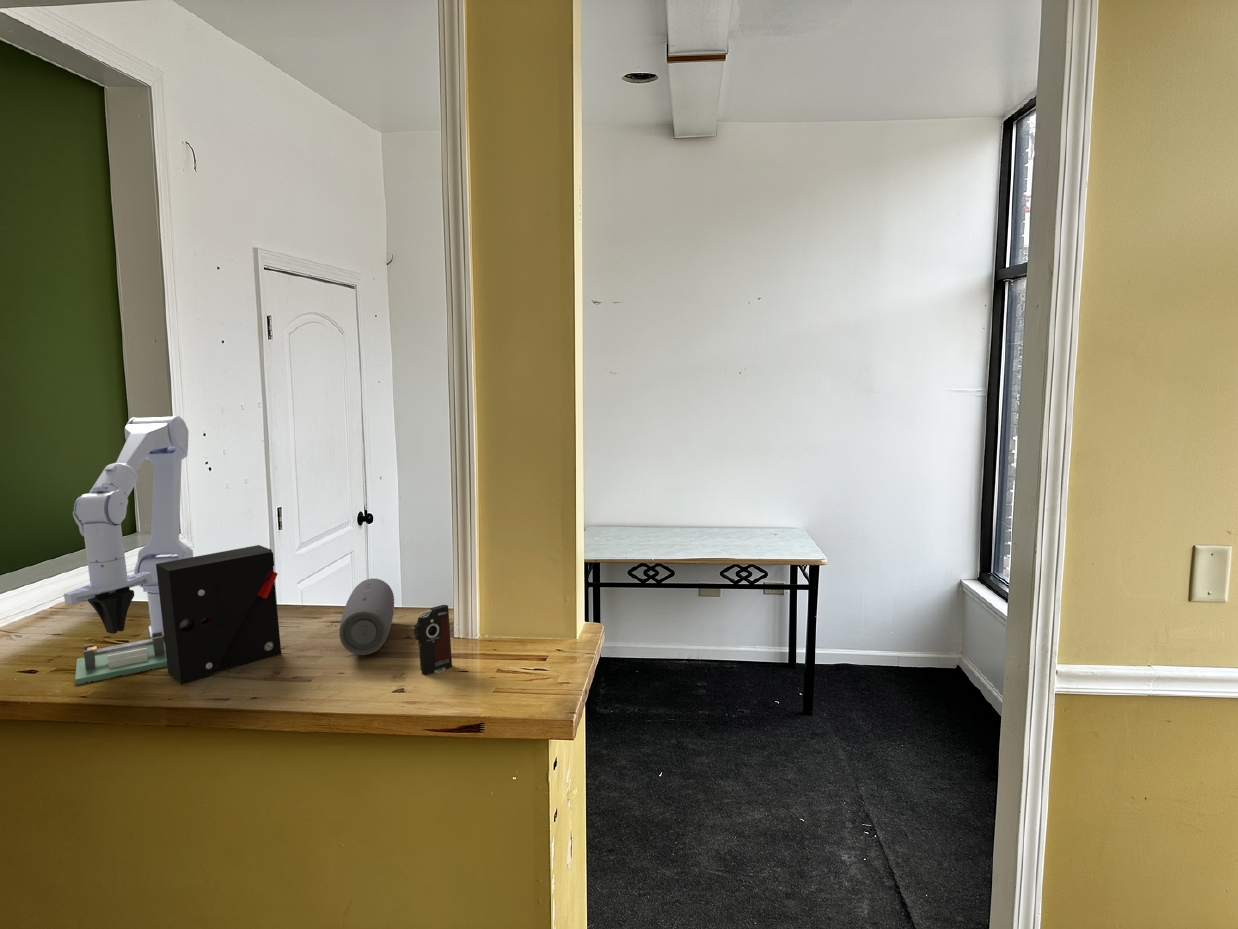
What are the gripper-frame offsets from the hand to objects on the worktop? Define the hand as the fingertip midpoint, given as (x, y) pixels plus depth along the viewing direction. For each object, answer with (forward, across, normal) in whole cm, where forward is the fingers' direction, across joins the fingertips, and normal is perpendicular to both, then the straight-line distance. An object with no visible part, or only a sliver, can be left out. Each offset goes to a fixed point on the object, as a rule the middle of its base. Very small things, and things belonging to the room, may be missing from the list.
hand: (115, 631), depth 147 cm
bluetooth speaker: (+7, -28, +35) cm, 45 cm away
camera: (+7, -20, +56) cm, 60 cm away
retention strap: (+4, -1, +1) cm, 4 cm away
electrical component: (+7, -8, +18) cm, 21 cm away
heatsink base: (+6, -1, +1) cm, 7 cm away
